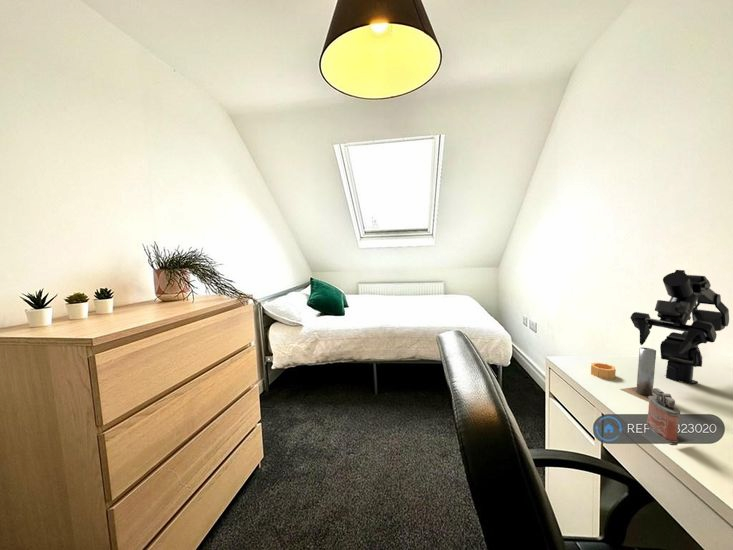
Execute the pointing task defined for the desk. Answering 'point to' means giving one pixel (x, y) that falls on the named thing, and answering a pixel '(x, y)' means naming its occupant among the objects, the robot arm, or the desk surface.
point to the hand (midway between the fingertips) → (659, 348)
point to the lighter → (663, 416)
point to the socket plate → (603, 370)
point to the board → (633, 392)
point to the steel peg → (646, 371)
